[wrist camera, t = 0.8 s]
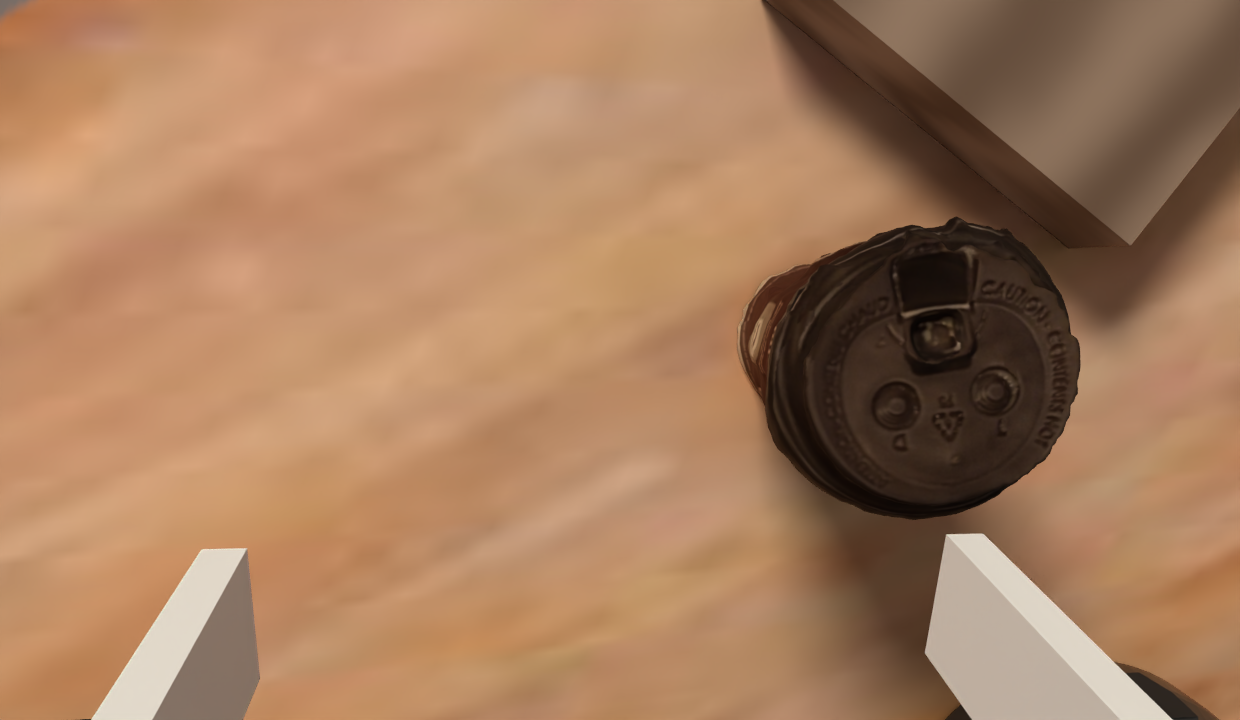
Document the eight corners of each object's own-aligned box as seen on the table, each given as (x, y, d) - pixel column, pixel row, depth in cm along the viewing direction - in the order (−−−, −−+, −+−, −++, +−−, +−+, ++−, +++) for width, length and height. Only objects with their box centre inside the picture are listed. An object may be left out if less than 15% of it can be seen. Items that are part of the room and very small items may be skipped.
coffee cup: (785, 188, 35) (907, 142, 22) (959, 295, 35) (1176, 312, 22) (672, 377, 35) (725, 442, 22) (845, 478, 36) (993, 597, 23)
